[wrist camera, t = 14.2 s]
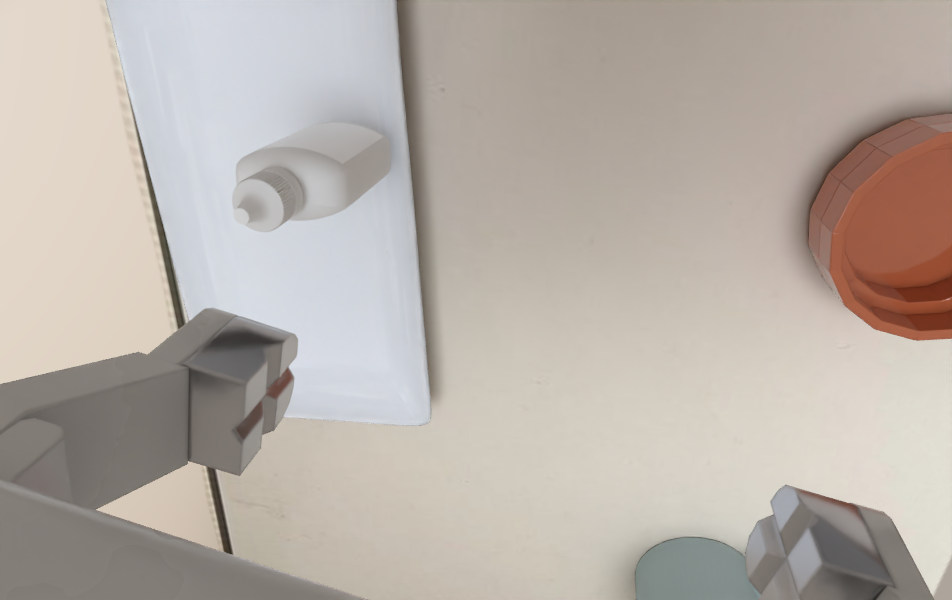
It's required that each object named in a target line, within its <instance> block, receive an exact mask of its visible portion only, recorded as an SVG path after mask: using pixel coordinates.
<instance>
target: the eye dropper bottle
mask: <svg viewBox="0 0 952 600" xmlns="http://www.w3.org/2000/svg"><path fill="white" fill-rule="evenodd" d="M390 169H391V151H390V142H389V139H388V138H387V137H386V136H385V135H384V134H382V133H381V132H379V131H377V130H375V129H372V128H370V127H367V126H364V125H361V124H357V123H351V122H343V121H333V122H324V123H319V124H315V125H311V126H308V127H306V128H303V129H301V130H299V131H297V132H294V133H292V134H290V135H288V136H286V137H284V138H281V139H279V140H277V141H275V142H273V143H271V144H268V145H266V146H264V147H262V148H260V149H258V150H256V151H254V152H252V153H250V154H248V155H246V156H244V157H243V158H241V159H240V160H239V162H238V163H237V165H236V182H237V186H236V188H234V191H233V196H232V203H233V204H232V205H233V208H234V212H233V217H234V219H235V220H236V222H238V223H239V224H244V225H246V226H247V227H248V228H250V229H253V230H254V231H259V232H271V231H273V230H275V229H277V228H278V227H280V226H281V225H282V224H284V223H285V222H287V221H288V220H292V221H306V220H314V219H320V218H324V217H327V216H331V215H334V214H336V213H339V212H341V211H343V210H345V209H346V208H348V207H349V206H350V205H352V204H353V203H354V202H355V201H357V200H358V199H359V198H360V197H361V196H363V195H364V194H365V193H366V192H367V191H369V190H370V189H371V188H372V187H373V186H374V185H376V184H377V183H378V182H379V181H380V180H381V179H383V178H384V177H385V176H386V175H387V174H388V173H389V172H390Z"/></svg>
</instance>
